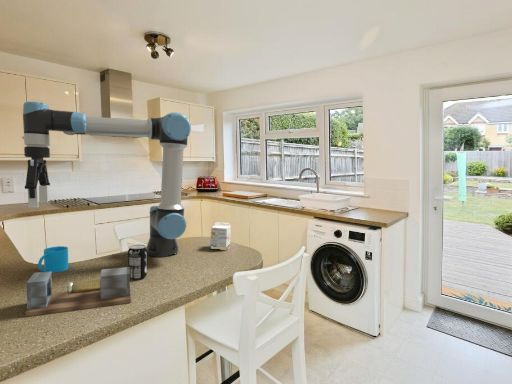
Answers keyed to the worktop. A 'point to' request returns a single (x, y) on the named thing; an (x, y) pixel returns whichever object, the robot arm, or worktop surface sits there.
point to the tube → (84, 286)
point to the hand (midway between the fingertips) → (38, 205)
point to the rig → (45, 302)
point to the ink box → (220, 234)
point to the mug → (54, 259)
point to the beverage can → (137, 261)
